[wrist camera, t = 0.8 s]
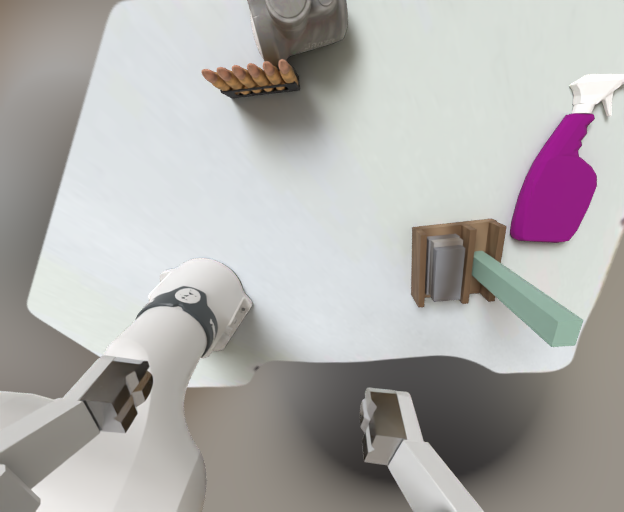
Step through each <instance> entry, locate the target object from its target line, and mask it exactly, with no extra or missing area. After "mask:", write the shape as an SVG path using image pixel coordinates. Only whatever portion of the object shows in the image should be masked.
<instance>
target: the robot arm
mask: <svg viewBox="0 0 624 512" xmlns="http://www.w3.org/2000/svg"><path fill="white" fill-rule="evenodd" d="M148 299H149V302H148V303H147V304H146V305H145V306H144V308H143V309H142V310H141V311H140V313H139V314H138V315H137V317H136V320H135V321H134V322H133V323H132V324H131V325H130V326H128V327H127V328H126V329H125V330H124V331H123V332H122V333H121V334H120V335H119V336H118V337H117V338H116V339H115V340H114V341H113V342H112V343H110V345H109V346H108V347H107V348H106V350H105V351H104V353H103V355H102V357H100V358H99V359H97V360H96V362H95V363H94V364H93V365H92V366H91V367H90V368H89V369H88V371H87V372H86V373H85V374H84V375H83V376H82V377H81V378H80V379H79V381H78V382H77V383H76V384H75V385H74V386H73V387H72V388H71V389H70V391H69V392H68V393H67V394H66V395H65V396H64V397H63V398H57V399H55V400H54V399H50V398H47V397H43V396H39V395H36V394H30V393H19V392H18V393H17V392H7V391H6V392H5V391H0V512H202V509H203V504H204V500H205V493H206V469H205V463H204V460H203V457H202V454H201V452H200V450H199V449H198V447H197V446H196V444H195V442H194V441H193V439H192V437H191V435H190V433H189V430H188V427H187V424H186V419H185V414H184V397H185V392H186V389H187V386H188V383H189V381H190V378H191V376H192V374H193V372H194V370H195V368H196V366H197V364H198V362H199V360H200V358H206V357H208V356H210V354H211V352H212V351H220V350H223V349H224V348H225V346H226V345H227V343H228V342H229V340H230V339H231V337H232V336H233V334H234V332H235V331H236V329H237V328H238V326H239V325H240V323H241V322H242V320H243V319H244V317H245V316H246V314H247V313H248V311H249V310H250V308H251V307H252V301H251V300H250V298H249V297H248V296H247V295H246V294H245V293H244V291H243V288H242V286H241V283H240V281H239V279H238V277H237V276H236V275H235V274H234V272H233V271H232V270H231V269H229V268H228V267H227V266H225V265H224V264H222V263H220V262H218V261H215V260H212V259H207V258H195V259H191V260H188V261H186V262H184V263H182V264H181V265H180V266H178V267H177V268H174V269H168V270H165V271H163V272H162V273H161V275H160V283H159V284H158V286H157V287H156V288H155V289H154V290H153V291H152V292H151V293H150V294H149V296H148ZM243 308H245V309H243ZM365 397H366V398H365V399H363V400H362V403H361V406H360V426H361V428H362V430H363V431H364V433H365V434H364V436H363V439H362V446H363V456H364V462H369V463H376V464H383V465H388V468H389V470H390V472H391V473H392V475H393V477H394V478H395V480H396V482H397V484H398V486H399V487H400V489H401V491H402V492H403V494H404V496H405V498H406V500H407V501H408V503H409V505H410V506H411V508H412V510H413V512H484V511H483V510H482V509H481V507H480V506H479V505H478V504H477V502H476V501H475V500H474V499H473V497H472V496H471V495H470V494H469V493H468V491H467V490H466V489H465V488H464V486H463V485H462V484H461V483H460V481H459V480H458V479H457V478H456V476H455V475H454V474H453V473H452V472H451V470H450V469H449V468H448V467H447V465H446V464H445V463H444V462H443V460H442V459H441V458H440V457H439V456H438V454H437V453H436V452H435V451H434V449H433V448H432V447H431V446H430V444H429V443H428V442H424V441H423V437H422V434H421V430H420V427H419V423H418V420H417V416H416V413H415V409H414V406H413V402H412V399H411V396H410V394H409V393H408V392H402V391H394V390H386V389H376V388H367V389H366V392H365Z"/></svg>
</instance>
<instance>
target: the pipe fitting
mask: <svg viewBox="0 0 624 512" xmlns="http://www.w3.org/2000/svg"><path fill="white" fill-rule="evenodd" d="M247 1H248V5H249V8H250V11H251V25H252V31H253V35H254V39H255V42H256V45H257V48H258V50H259V52H260V54H261V56H262V58H263V59H264V61H268V62H270V63H271V64H272V65H273V66H275V67H276V68H277V69H279V61H280V60H281V59H284V60H285V61H286V60H287V58H288V57H289V56H292V55H295V54H298V53H302V52H305V51H309V50H312V49H315V48H319V47H322V46H325V45H329V44H332V43H335V42H338V41H341V40H342V39H343V38H344V36H345V33H346V30H347V25H348V13H347V3H346V0H247Z"/></svg>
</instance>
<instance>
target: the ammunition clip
mask: <svg viewBox="0 0 624 512" xmlns="http://www.w3.org/2000/svg"><path fill="white" fill-rule="evenodd" d="M247 69H248V70H246V69H243V68H241V67H240V66H237V65H234V66H233V67H232V71H229V70H227V69H226V68H223V67H218V68H217V72H213V71H211V70H208V69H203V70H202V75H203V76H204V78H205V79H206V80H208V81H209V82H211V83H212V84H213V85H214V86H215V87H217V88H218V89H220V91H221V93H223V94H225V95H227V96H228V97H230V98H238V97H247V96H255V95H263V94H272V93H280V92H288V91H297V90H300V85H299V76H298V74H297V73H296V71H295V70H294V68H293V67H291V65H289V64H288V63H287V61H285V60H284V59H281V60H280V61H279V69H277V68H276V67H275V66H273V65H272V64H271V63H270V62H268V61H265V62H264V63H263V69H264V71H263V70H262V69H261V68H259V67H257V66H256V65H255V64H252V63H249V64H248V65H247Z"/></svg>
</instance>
